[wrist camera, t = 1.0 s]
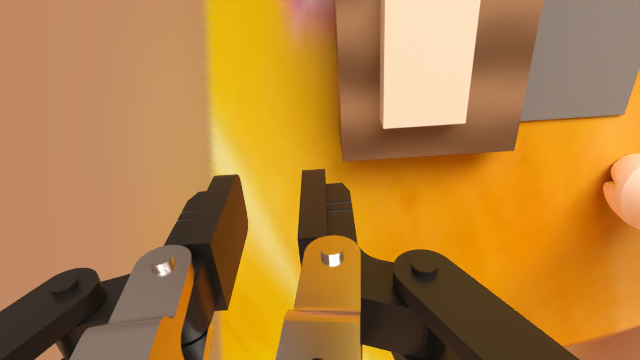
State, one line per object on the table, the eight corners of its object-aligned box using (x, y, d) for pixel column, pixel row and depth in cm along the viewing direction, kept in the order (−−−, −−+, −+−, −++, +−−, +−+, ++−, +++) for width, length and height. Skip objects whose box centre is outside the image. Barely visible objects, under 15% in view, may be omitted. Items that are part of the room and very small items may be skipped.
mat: (529, -79, 28) (531, -80, 27) (688, -92, 27) (692, -93, 27) (496, 121, 35) (497, 122, 35) (621, 113, 35) (624, 114, 34)
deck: (331, -64, 28) (333, -67, 24) (529, -79, 28) (559, -85, 24) (340, 141, 36) (342, 161, 32) (494, 131, 35) (514, 150, 32)
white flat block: (380, -9, 26) (385, -6, 24) (471, -16, 26) (482, -14, 24) (379, 119, 30) (383, 128, 29) (457, 113, 30) (465, 123, 29)
